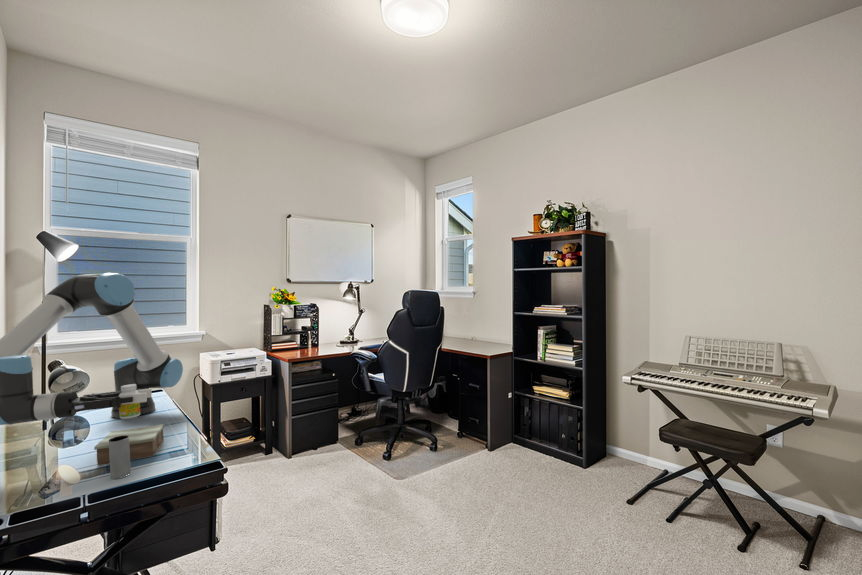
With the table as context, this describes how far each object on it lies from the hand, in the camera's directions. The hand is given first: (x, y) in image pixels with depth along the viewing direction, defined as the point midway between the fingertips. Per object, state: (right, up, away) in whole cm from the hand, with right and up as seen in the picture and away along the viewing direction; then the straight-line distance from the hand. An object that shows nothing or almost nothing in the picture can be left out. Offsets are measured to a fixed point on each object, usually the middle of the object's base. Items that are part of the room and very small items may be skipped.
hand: (148, 395), depth 138 cm
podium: (-4, -18, -2) cm, 18 cm away
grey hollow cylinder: (+5, -18, -19) cm, 26 cm away
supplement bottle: (-5, -6, -2) cm, 8 cm away
